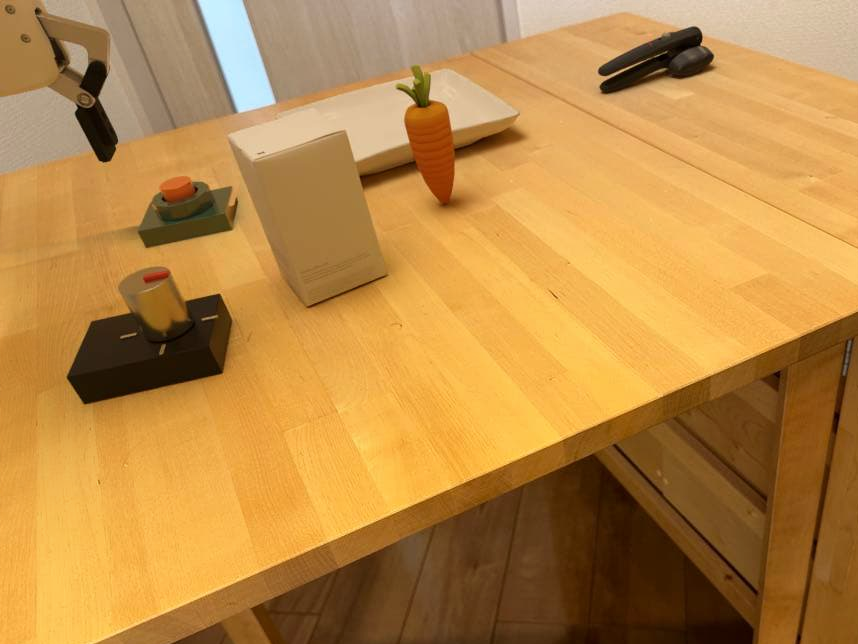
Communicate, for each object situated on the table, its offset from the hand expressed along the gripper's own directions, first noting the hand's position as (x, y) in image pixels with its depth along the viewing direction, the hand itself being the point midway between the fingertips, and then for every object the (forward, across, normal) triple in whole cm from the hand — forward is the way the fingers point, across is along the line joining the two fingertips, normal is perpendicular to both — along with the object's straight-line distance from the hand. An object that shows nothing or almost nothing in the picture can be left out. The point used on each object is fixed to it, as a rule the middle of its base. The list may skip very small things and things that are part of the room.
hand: (45, 170), depth 59 cm
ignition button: (+14, -1, -29) cm, 32 cm away
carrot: (+19, -31, -18) cm, 40 cm away
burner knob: (+15, -3, +1) cm, 16 cm away
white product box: (+19, -17, -8) cm, 27 cm away
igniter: (+18, -1, -29) cm, 34 cm away
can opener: (+19, -66, -44) cm, 81 cm away
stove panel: (+18, -1, 0) cm, 18 cm away
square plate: (+18, -28, -42) cm, 54 cm away
